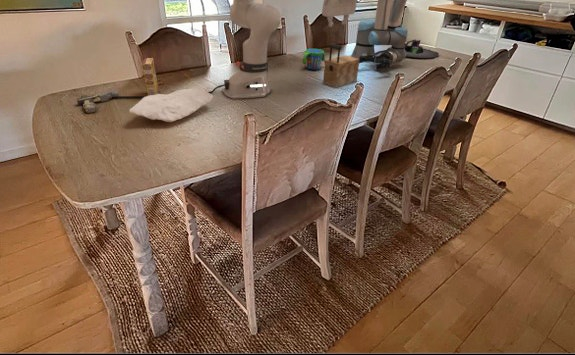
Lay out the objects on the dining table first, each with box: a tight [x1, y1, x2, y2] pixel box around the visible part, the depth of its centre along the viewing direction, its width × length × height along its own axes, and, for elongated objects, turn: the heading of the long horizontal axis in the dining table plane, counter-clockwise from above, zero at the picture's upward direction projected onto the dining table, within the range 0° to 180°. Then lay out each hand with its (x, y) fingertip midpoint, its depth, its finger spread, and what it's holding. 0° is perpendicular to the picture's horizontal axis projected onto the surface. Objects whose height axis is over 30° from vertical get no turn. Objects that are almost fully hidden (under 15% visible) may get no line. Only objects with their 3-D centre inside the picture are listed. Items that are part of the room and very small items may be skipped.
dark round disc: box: [386, 38, 439, 59], centre depth 252 cm, size 35×35×9 cm
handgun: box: [76, 89, 120, 114], centre depth 155 cm, size 3×18×15 cm
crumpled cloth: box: [129, 88, 214, 123], centre depth 147 cm, size 24×35×9 cm
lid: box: [323, 43, 360, 67], centre depth 184 cm, size 17×9×10 cm, turn 132°
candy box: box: [141, 57, 160, 96], centre depth 163 cm, size 9×4×15 cm, turn 13°
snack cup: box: [302, 48, 326, 71], centre depth 209 cm, size 16×10×10 cm
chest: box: [322, 62, 360, 88], centre depth 190 cm, size 17×9×10 cm, turn 132°
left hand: (337, 25), depth 173 cm, fingers open, 8 cm apart
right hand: (366, 64), depth 200 cm, fingers open, 13 cm apart
